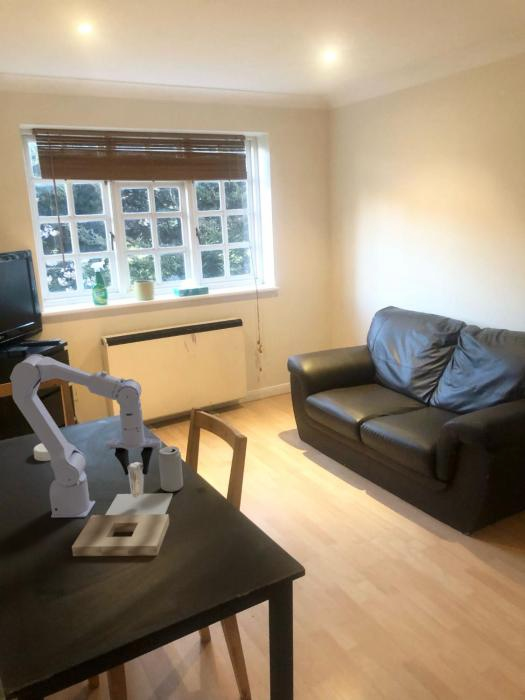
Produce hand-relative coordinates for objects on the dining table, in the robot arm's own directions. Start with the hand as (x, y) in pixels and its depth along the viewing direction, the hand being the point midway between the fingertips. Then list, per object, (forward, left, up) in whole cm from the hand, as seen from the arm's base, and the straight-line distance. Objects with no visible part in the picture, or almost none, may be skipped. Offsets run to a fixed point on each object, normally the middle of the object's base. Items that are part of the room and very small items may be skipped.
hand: (136, 473), depth 148 cm
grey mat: (0, 0, -10) cm, 10 cm away
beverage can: (+7, +10, -10) cm, 16 cm away
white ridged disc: (-40, +35, -10) cm, 54 cm away
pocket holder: (0, -16, -10) cm, 19 cm away
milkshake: (0, -1, -6) cm, 6 cm away
